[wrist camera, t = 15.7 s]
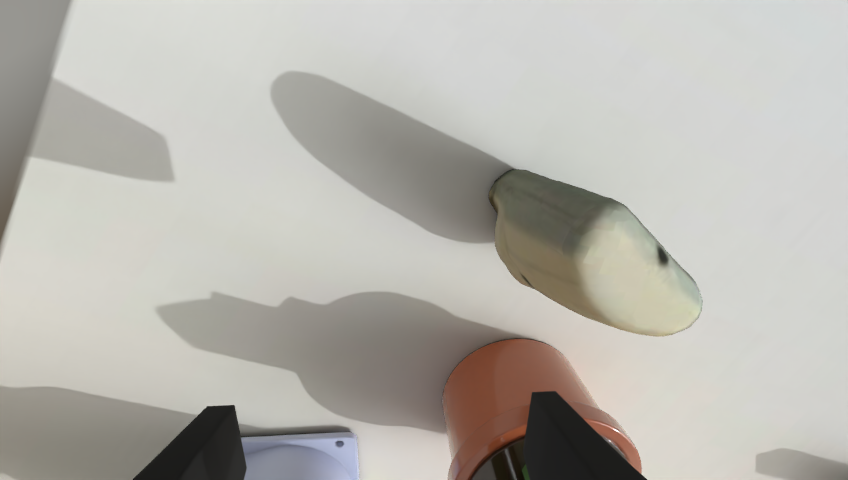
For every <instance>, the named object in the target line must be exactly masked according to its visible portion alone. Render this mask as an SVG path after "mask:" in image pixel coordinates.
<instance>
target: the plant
mask: <svg viewBox="0 0 848 480" xmlns="http://www.w3.org/2000/svg"><path fill="white" fill-rule="evenodd" d="M544 391H556V392H557V393H558V394H559V395H560V396H561V397H562V398H563V399H564V400H565V401H566V402H567V403H568V404H569V405H570V406H571V407H572V408H573V409H574V410H575V411H576V412H577V413H578V414H579V415H580V416H581V417H582V418H583V419H584V420H585V421H586V422H587V423H588V424H589V425H590V426H591V427H592V428H593V429H594V430H595V431H596V432H597V433H598V434H599V435H600V436H601V437H602V438H603V439H604V440H605V441H606V442H607V443H608V444H609V445H611V446H612V447H613V448H614V449H615V450H616V451H617V452H618V453H619V454H620V455H621V456H622V457H623V458H624V459H625V460H626V461H627V462H628V463H630V464H631V465H632V466H633V467H634V468H635V469H636V470H637V471H638V472H639V473H640V474H641V471H642V467H641V460H640V457H639V454H638V451H637V449H636V447H635V446H634V444H633V442H632V441H631V439H630V438H629V436H628V435H627V433H626V432H625V431H624V429H623V428H622V426H621V425H620V424H619V423H618V422H617V421H616V420H615V419H614V418H613V417H611V416H610V415H609V414H607V413H605V412H604V411H602V410H600V409H599V407H598V406H597V404H596V402H595V401H594V399H593V398H592V396H591V395H590V393H589V392H588V390H587V389H586V387H585V386H584V384H583V383H582V381H581V379H580V378H579V376H578V375H577V373H576V372H575V370H574V369H573V367H572V366H571V364H570V363H569V361H568V360H567V359H566V357H565V356H564V355H563V354H562V353H560V352H559V351H558V350H557V349H555V348H553V347H552V346H550V345H547V344H545V343H543V342H539V341H535V340H529V339H509V340H503V341H498V342H495V343H492V344H489V345H486V346H484V347H482V348H480V349H478V350H476V351H474V352H473V353H471V354H470V355H469V356H467V357H466V358H465V359H464V360H462V361H461V362H460V363H459V364H458V365H457V367H456V368H455V369H454V370H453V372H452V373H451V375H450V376H449V378H448V380H447V382H446V385H445V388H444V391H443V398H442V402H443V411H444V417H445V423H446V429H447V435H448V441H449V447H450V453H451V459H452V463H451V466H450V469H449V473H448V479H447V480H530V478H529V475H528V471H527V467H526V463H525V459H524V455H523V447H524V440H525V434H526V427H527V421H528V415H529V408H530V402H531V395H532V392H544Z"/></svg>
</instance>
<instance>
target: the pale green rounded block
mask: <svg viewBox="0 0 848 480" xmlns="http://www.w3.org/2000/svg"><path fill="white" fill-rule="evenodd" d="M489 200H490V203H491V204H492V206H493V207H494V209H495V211H496V213H497V215H498V216H497V221H496V226H495V247H496V250H497V252H498V255H499V257H500V259H501V260H502V261H503V262H504V264H505V265H506V267H507V268H508V270H509V272H510V273H511V274H512V275H513V277H514V278H515V279H516V280H518V281H519V282H520V283H521V284H523V285H525V286H528V287H531V288H533V289H535V290H537V291H539V292H541V293H542V294H544V295H545V296H547V297H548V298H550V299H552V300H553V301H555V302H557V303H559V304H561V305H563V306H565V307H566V308H568V309H570V310H572V311H574V312H576V313H578V314H580V315H582V316H584V317H587V318H589V319H592V320H595V321H598V322H601V323H603V324H606V325H609V326H612V327H615V328H618V329H620V330H624V331H628V332H632V333H636V334H641V335H648V336H668V335H672V334H675V333H678V332H680V331H683V330H685V329H687V328H689V327H691V325H692V324H693V323H694V322H695V321H696V320H697V319H698V318H699V315H700V313H701V311H702V302H703V301H702V297H701V294H700V291H699V289H698V287H697V285H696V282H695V281H694V280H693V278H692V277H691V276H690V275H689V274H688V273H687V272H686V271H685V270H684V269H683V268H682V267H681V266H680V265H679V264H678V263H677V262H676V261H675V260H674V259H673V258H672V257H671V255H670V254H669V253H668V252H667V251H666V250H665V249H664V248H663V246H662V245H661V244H660V243H659V242H658V241H657V240H656V239H655V237H654V236H653V235H652V234H651V233H650V232H649V231H648V230H647V229H646V228H645V227H644V226H643V224H642V223H641V222H640V221H639V220H638V218H637V217H636V216H635V215H634V214H633V213H632V212H631V211H630V210H629V209H628V208H627V207H626V206H625V205H624V204H622V203H620V202H618V201H616V200H614V199H611V198H607V197H604V196H601V195H598V194H596V193H593V192H590V191H587V190H585V189H582V188H578V187H575V186H572V185H569V184H566V183H563V182H560V181H555V180H552V179H549V178H546V177H544V176H541V175H538V174H535V173H532V172H529V171H527V170H514V169H512V170H510V171H507V172H506V173H504V174H503V175H502V176H501V177H500V178H498V179H497V180H496V181H495V183H494V185H493V186H492V189H491V190H490V192H489Z"/></svg>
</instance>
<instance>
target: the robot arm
mask: <svg viewBox="0 0 848 480" xmlns="http://www.w3.org/2000/svg"><path fill="white" fill-rule="evenodd" d="M523 455H524V459H525V463H526V467H527V471H528V475H529V478H530V480H647V479H646V478H645V477H644V476H643V475H641V474H640V473H639V472H638V471H637V470H636V469H635V468H634V467H633V466H632V465H631V464H630V463H628V462H627V461H626V460H625V459H624V458H623V457H622V456H621V455H620V454H619V453H618V452H617V451H616V450H615V449H614V448H613V447H612V446H611V445H609V444H608V443H607V442H606V441H605V440H604V439H603V438H602V437H601V436H600V435H599V434H598V433H597V432H596V431H595V430H594V429H593V428H592V427H591V426H590V425H589V424H588V423H587V422H586V421H585V420H584V419H583V418H582V417H581V416H580V415H579V414H578V413H577V412H576V411H575V410H574V409H573V408H572V407H571V406H570V405H569V404H568V403H567V402H566V401H565V400H564V399H563V398H562V397H561V396H560V395H559V394H558V393H557V392H556V391H544V392H532V395H531V402H530V408H529V415H528V421H527V427H526V434H525V440H524V447H523ZM133 480H359V463H358V445H357V436H356V435H355V434H354V433H352V432H337V433H318V434H298V435H279V436H259V437H241V436H240V431H239V426H238V421H237V416H236V411H235V406H234V405H228V406H207V407H206V408H205V409H204V410H203V411H202V412H201V413H200V414H199V415H198V416H197V417H196V418H195V419H194V420H193V421H192V422H191V423H190V424H189V425H188V426H187V427H186V428H185V429H184V430H183V431H182V432H181V433H180V434H179V435H178V436H177V437H176V438H175V439H174V440H173V441H172V442H171V443H170V444H169V445H168V446H167V447H166V448H165V449H164V450H163V451H162V452H161V453H160V454H159V455H157V456H156V457H155V458H154V459H153V460H152V461H151V462H150V463H149V464H148V465H147V466H146V467H145V468H144V469H143V470H142V471H141V472H140V473H139V474H138V475H137V476H136V477H135V478H134V479H133Z"/></svg>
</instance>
